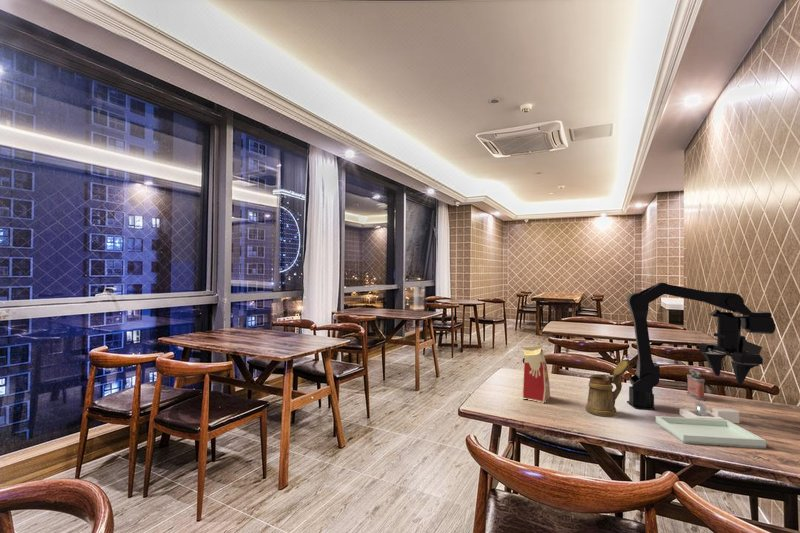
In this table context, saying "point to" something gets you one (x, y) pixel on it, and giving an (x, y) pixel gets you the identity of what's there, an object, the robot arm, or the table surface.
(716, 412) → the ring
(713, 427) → the tray
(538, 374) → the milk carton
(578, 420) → the table surface
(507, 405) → the table surface
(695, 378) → the lighter
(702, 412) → the grey knob with bar
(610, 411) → the wooden mug
